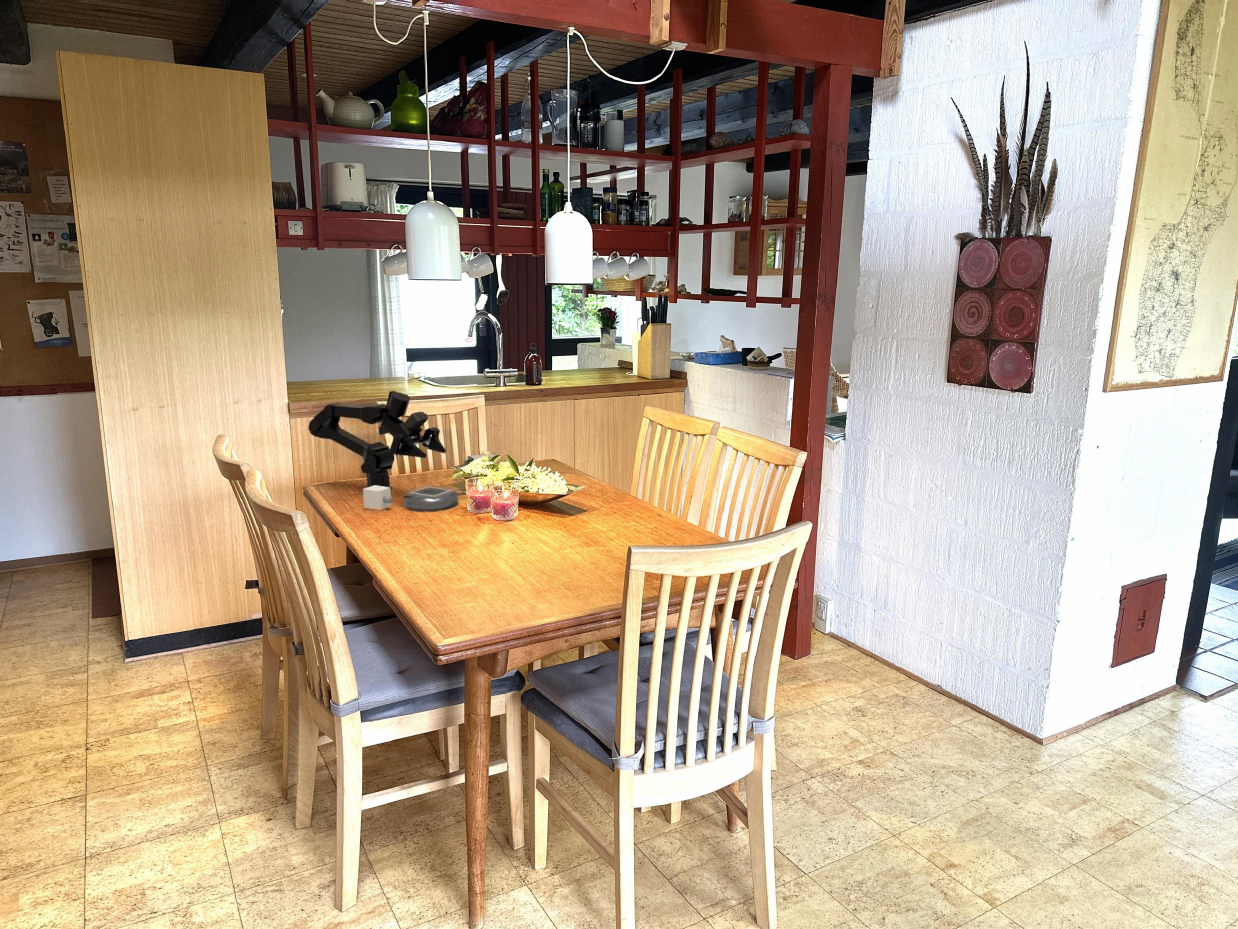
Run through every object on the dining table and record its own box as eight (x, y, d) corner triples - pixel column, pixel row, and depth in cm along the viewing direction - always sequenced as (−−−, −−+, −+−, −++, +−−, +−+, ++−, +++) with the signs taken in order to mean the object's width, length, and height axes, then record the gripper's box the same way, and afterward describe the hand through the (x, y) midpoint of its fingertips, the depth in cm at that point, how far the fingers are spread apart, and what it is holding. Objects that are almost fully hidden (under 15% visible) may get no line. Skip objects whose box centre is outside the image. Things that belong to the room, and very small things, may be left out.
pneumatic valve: (464, 489, 273) (463, 453, 271) (498, 485, 279) (497, 449, 276) (469, 493, 269) (468, 456, 266) (504, 489, 274) (503, 452, 271)
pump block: (364, 508, 252) (363, 489, 250) (375, 504, 256) (374, 485, 255) (385, 511, 248) (384, 492, 247) (396, 507, 253) (395, 488, 251)
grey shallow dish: (392, 507, 253) (392, 494, 252) (427, 494, 267) (426, 482, 266) (436, 514, 246) (435, 500, 245) (469, 501, 260) (468, 488, 259)
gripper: (385, 409, 252) (423, 435, 247) (426, 403, 268) (463, 427, 263) (374, 441, 256) (412, 467, 251) (415, 433, 272) (451, 457, 267)
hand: (435, 454), depth 258 cm, fingers open, 9 cm apart
